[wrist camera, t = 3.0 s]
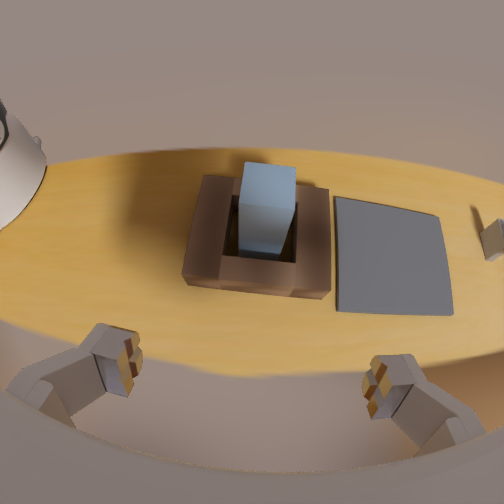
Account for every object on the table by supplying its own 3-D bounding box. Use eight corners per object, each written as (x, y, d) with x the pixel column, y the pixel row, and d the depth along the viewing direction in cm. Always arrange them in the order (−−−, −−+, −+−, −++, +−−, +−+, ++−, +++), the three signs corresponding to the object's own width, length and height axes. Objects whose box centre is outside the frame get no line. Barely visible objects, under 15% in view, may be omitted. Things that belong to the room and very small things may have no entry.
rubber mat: (336, 311, 24) (338, 310, 24) (334, 200, 29) (335, 197, 29) (450, 315, 24) (453, 314, 24) (436, 219, 29) (438, 217, 29)
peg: (238, 257, 26) (238, 203, 18) (243, 223, 27) (245, 161, 19) (277, 261, 26) (295, 209, 18) (279, 227, 27) (295, 167, 19)
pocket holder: (187, 285, 25) (181, 274, 22) (206, 192, 29) (203, 174, 26) (321, 299, 25) (331, 290, 22) (321, 205, 29) (328, 189, 26)
